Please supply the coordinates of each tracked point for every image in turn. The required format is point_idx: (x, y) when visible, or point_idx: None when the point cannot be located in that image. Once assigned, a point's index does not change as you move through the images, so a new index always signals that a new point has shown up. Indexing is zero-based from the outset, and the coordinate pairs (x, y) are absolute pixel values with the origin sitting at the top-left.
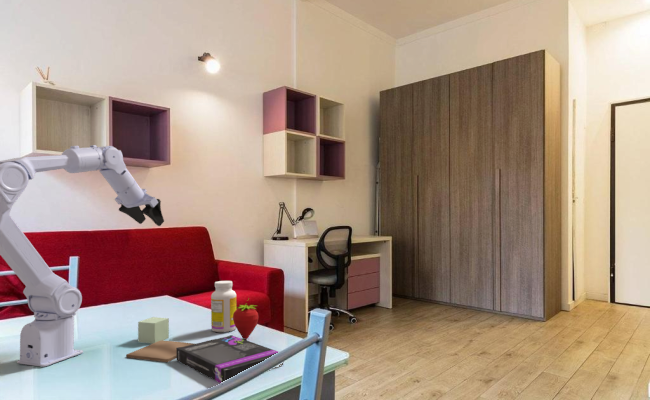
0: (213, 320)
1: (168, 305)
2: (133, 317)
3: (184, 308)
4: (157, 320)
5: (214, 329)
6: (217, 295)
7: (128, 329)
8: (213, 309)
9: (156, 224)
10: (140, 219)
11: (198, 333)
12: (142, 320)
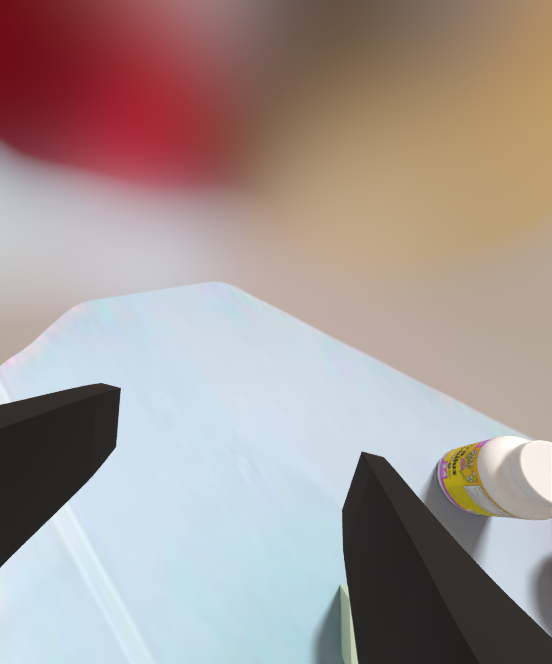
0: (476, 512)
1: (197, 306)
2: (178, 416)
3: (248, 322)
4: None
5: (466, 511)
6: (539, 517)
7: (234, 529)
8: (494, 513)
9: (345, 540)
10: (88, 453)
11: None
12: (351, 658)
